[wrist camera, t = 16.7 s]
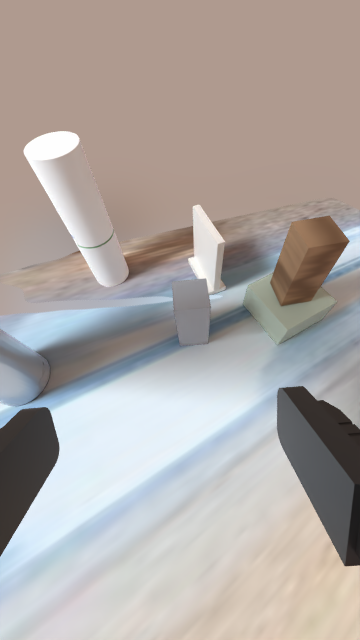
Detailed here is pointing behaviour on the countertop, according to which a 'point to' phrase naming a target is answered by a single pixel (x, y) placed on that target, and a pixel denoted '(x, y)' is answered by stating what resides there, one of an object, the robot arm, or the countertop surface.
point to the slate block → (191, 311)
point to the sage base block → (284, 310)
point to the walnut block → (307, 259)
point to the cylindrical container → (78, 202)
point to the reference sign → (207, 251)
